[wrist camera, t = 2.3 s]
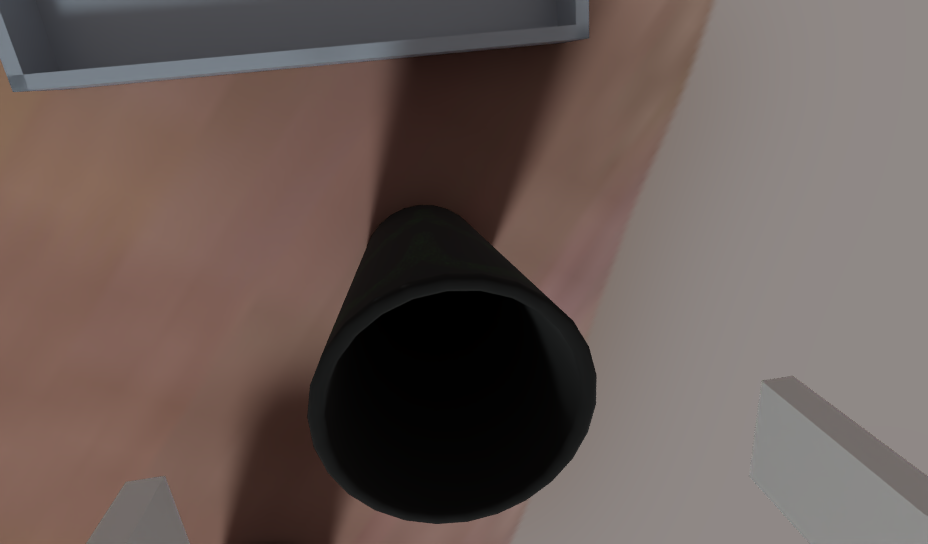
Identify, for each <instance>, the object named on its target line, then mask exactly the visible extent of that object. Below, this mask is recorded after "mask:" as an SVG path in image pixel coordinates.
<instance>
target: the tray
mask: <svg viewBox="0 0 928 544" xmlns="http://www.w3.org/2000/svg"><path fill="white" fill-rule="evenodd" d="M587 38H589V0H0V59H1V61H2V64H3V67H4V69H5V72H6V75H7V77H8V80H9V83H10V85H11V88H12V90H13V92H23V91H45V90H65V89H76V88H87V87H97V86H108V85H119V84H129V83H140V82H151V81H161V80H172V79H182V78H193V77H204V76H214V75H225V74H236V73H246V72H257V71H268V70H278V69H289V68H300V67H310V66H321V65H332V64H342V63H353V62H364V61H374V60H385V59H396V58H406V57H417V56H428V55H438V54H449V53H460V52H470V51H481V50H492V49H502V48H513V47H523V46H534V45H545V44H555V43H565V42H570V41H576V40H582V39H587Z"/></svg>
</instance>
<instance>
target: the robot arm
mask: <svg viewBox="0 0 928 544" xmlns="http://www.w3.org/2000/svg"><path fill="white" fill-rule="evenodd" d="M749 477H750V478H751V479H752V480H753V481H754V482H755V483H756V484H757V486H758V487H759V488H760V489H761V490H762V491H763V492H764V493H765V495H766V496H767V497H768V498H769V499H770V500H771V501H772V502H773V503H774V505H775V506H776V507H777V508H778V509H779V510H780V511H781V512H782V513H783V515H784V516H785V517H786V518H787V519H788V520H789V521H790V522H791V523H792V525H793V526H794V527H795V528H796V529H797V530H798V531H799V532H800V533H801V535H802V536H803V537H804V538H805V539H806V540H807V541H808V542H809V544H928V476H927V475H925V474H924V473H923V472H921V471H920V470H919V469H917V468H916V467H915V466H913V465H912V464H911V463H909V462H908V461H907V460H905V459H904V458H903V457H901V456H900V455H898V454H897V453H896V452H894V451H893V450H892V449H890V448H889V447H888V446H886V445H885V444H884V443H882V442H881V441H879V440H878V439H877V438H876V437H874V436H873V435H872V434H870V433H869V432H867V431H866V430H865V429H864V428H862V427H861V426H859V425H858V424H857V423H855V422H854V421H853V420H851V419H850V418H849V417H847V416H846V415H845V414H843V413H842V412H841V411H839V410H838V409H837V408H835V407H834V406H833V405H831V404H830V403H829V402H827V401H826V400H824V399H823V398H822V397H820V396H819V395H818V394H816V393H815V392H814V391H812V390H811V389H810V388H808V387H807V386H806V385H804V384H803V383H802V382H800V381H799V380H798V379H796V378H795V377H794V376H789V377H782V378H777V379H770V380H763V381H761V389H760V396H759V404H758V412H757V420H756V427H755V435H754V443H753V450H752V459H751V466H750V473H749ZM86 544H190V542H189V540H188V537H187V534H186V532H185V529H184V526H183V524H182V521H181V518H180V515H179V513H178V510H177V507H176V505H175V502H174V499H173V496H172V494H171V491H170V488H169V486H168V483H167V480H166V477H165V476H160V477H154V478H148V479H141V480H135V481H129V482H126V483H125V484H124V486H123V487H122V489H121V490H120V492H119V494H118V495H117V497H116V498H115V500H114V501H113V503H112V504H111V506H110V507H109V509H108V510H107V512H106V514H105V515H104V517H103V518H102V520H101V521H100V523H99V524H98V526H97V527H96V529H95V531H94V532H93V534H92V535H91V537H90V538H89V540H88V541H87V543H86Z"/></svg>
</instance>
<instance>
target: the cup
mask: <svg viewBox="0 0 928 544" xmlns="http://www.w3.org/2000/svg"><path fill="white" fill-rule="evenodd" d="M595 405H596V372H595V368H594V364H593V361H592V357H591V353H590V349H589V346H588V345H587V343H586V341H585V340H584V338H583V336H582V335H581V333H580V331H579V330H578V328H577V326H576V325H575V323H574V322H573V320H572V319H571V318H569V317H568V316H567V315H566V314H565V313H564V312H563V311H562V310H561V309H560V308H559V307H558V306H557V305H555V304H554V303H553V302H552V301H551V300H550V299H549V298H548V297H547V296H546V295H545V294H544V293H542V292H541V291H540V290H539V289H538V288H537V287H536V286H535V285H534V284H533V283H532V282H531V281H530V280H528V279H527V278H526V277H525V276H524V275H523V274H522V273H521V272H520V271H519V270H518V269H517V268H516V267H514V266H513V265H512V264H511V263H510V262H509V261H508V260H507V259H506V258H505V257H504V256H503V255H501V254H500V253H499V252H498V251H497V250H496V249H495V248H494V247H493V246H492V245H491V244H490V243H489V242H487V241H486V240H485V239H484V238H483V237H482V236H481V235H480V234H479V233H478V232H477V231H476V230H475V229H473V228H472V227H471V226H470V225H469V224H468V223H467V222H466V221H465V220H464V219H463V218H462V217H460V216H459V215H457V214H455V213H454V212H452V211H450V210H448V209H445V208H441V207H437V206H433V205H418V206H413V207H409V208H404V209H402V210H400V211H398V212H396V213H394V214H392V215H390V216H389V217H388V218H387V219H386V220H385V221H383V222H382V223H381V224H380V225H379V226H378V228H377V229H376V230H375V232H374V233H373V235H372V236H371V238H370V241H369V243H368V246H367V248H366V250H365V253H364V255H363V258H362V260H361V262H360V265H359V267H358V269H357V272H356V274H355V277H354V279H353V281H352V284H351V286H350V289H349V291H348V293H347V296H346V298H345V301H344V303H343V305H342V308H341V310H340V313H339V315H338V317H337V320H336V322H335V325H334V327H333V329H332V332H331V334H330V336H329V339H328V341H327V344H326V346H325V348H324V351H323V353H322V356H321V358H320V361H319V364H318V366H317V369H316V371H315V374H314V376H313V379H312V382H311V384H310V392H309V404H308V415H307V418H308V422H309V427H310V432H311V436H312V441H313V446H314V448H315V450H316V452H317V454H318V455H319V457H320V459H321V461H322V463H323V465H324V466H325V468H326V470H327V472H328V473H329V474H330V475H331V476H332V477H333V478H334V479H335V481H336V482H337V483H338V484H339V485H340V486H341V487H342V488H343V489H344V490H345V491H346V492H347V493H348V494H349V495H351V496H353V497H354V498H356V499H358V500H359V501H361V502H362V503H364V504H366V505H367V506H369V507H371V508H372V509H374V510H376V511H379V512H382V513H385V514H388V515H391V516H394V517H397V518H400V519H403V520H407V521H416V522H425V523H433V524H442V523H455V522H468V521H472V520H476V519H479V518H483V517H487V516H491V515H494V514H498V513H500V512H502V511H504V510H507V509H509V508H511V507H513V506H515V505H517V504H519V503H521V502H523V501H525V500H527V499H528V498H530V497H531V496H533V495H534V494H535V493H537V492H538V491H539V490H541V489H542V488H543V487H545V486H546V485H548V484H549V483H550V482H551V481H553V479H554V478H555V477H556V476H557V475H558V474H559V473H560V472H561V471H562V470H563V468H564V467H565V466H566V465H567V464H568V463H569V462H570V461H571V460H572V459H573V457H574V455H575V454H576V452H577V450H578V448H579V447H580V445H581V443H582V441H583V440H584V438H585V436H586V434H587V432H588V429H589V426H590V423H591V419H592V416H593V412H594V409H595Z"/></svg>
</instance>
